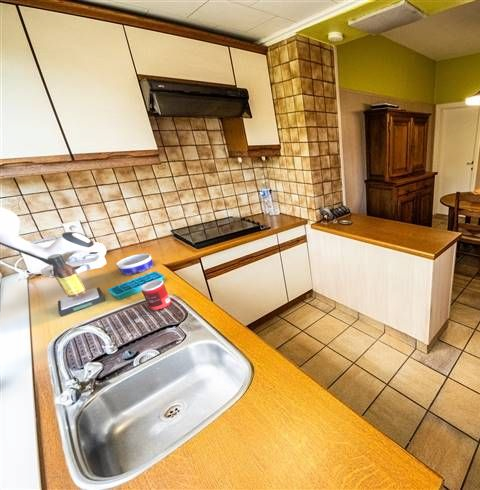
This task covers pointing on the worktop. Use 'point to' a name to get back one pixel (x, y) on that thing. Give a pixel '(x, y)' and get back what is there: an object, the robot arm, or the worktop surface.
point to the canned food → (156, 295)
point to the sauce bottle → (66, 276)
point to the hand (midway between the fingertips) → (64, 274)
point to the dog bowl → (135, 264)
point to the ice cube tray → (134, 285)
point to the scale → (80, 301)
